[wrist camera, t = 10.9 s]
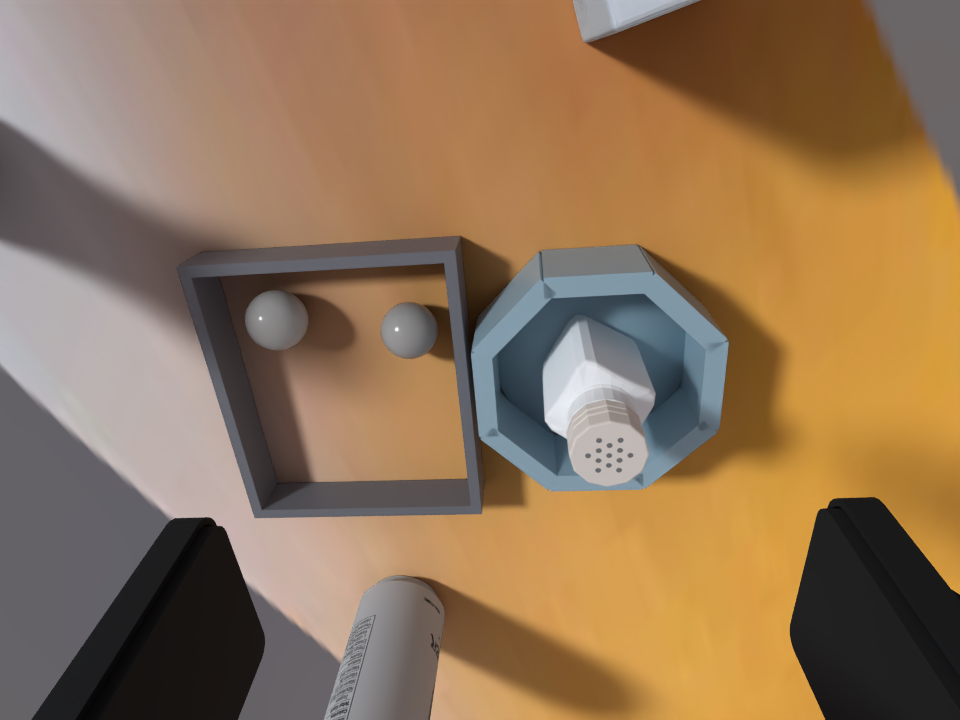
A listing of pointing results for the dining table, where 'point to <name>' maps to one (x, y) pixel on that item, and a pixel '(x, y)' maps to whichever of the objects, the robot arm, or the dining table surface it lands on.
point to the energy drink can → (390, 654)
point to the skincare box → (619, 14)
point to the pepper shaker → (598, 400)
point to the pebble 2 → (409, 330)
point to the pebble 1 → (276, 320)
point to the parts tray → (240, 406)
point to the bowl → (622, 307)
